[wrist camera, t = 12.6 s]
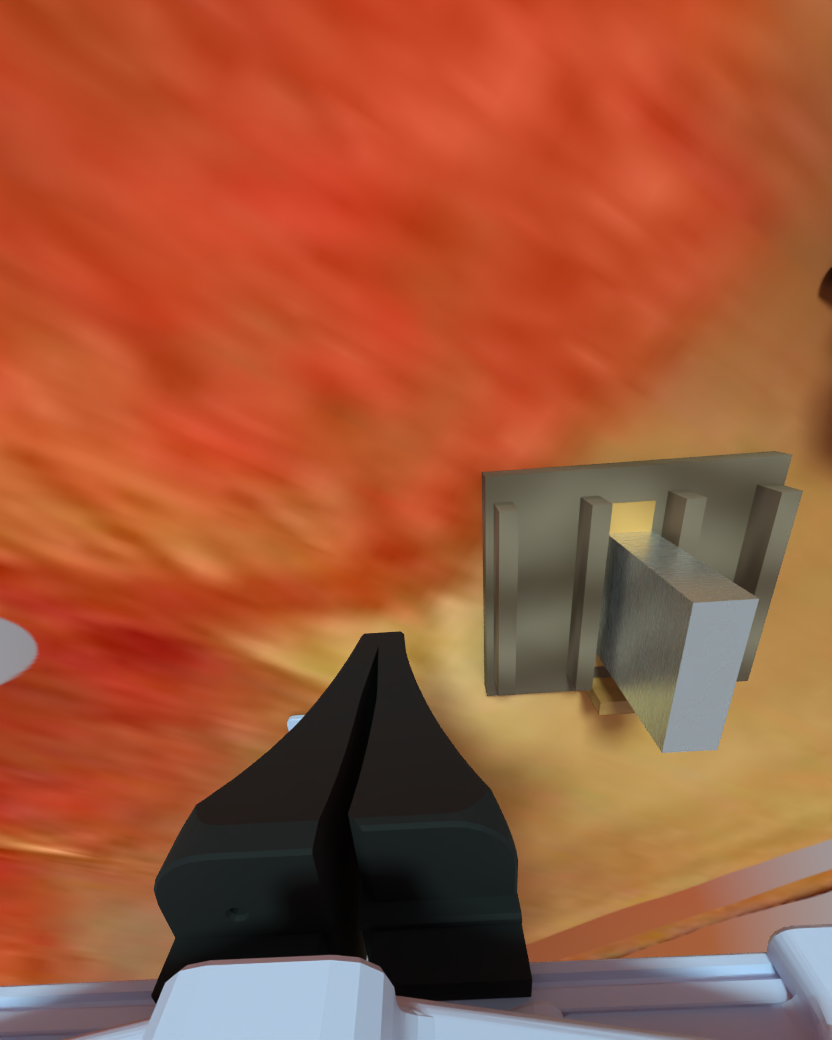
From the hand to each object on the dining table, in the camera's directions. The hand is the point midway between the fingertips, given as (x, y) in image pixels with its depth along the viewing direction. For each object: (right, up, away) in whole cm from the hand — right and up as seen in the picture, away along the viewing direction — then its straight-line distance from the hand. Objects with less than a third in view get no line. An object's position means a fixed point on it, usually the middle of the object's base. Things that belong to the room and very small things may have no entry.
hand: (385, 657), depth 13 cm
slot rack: (+13, +1, +11) cm, 17 cm away
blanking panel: (+13, 0, +10) cm, 17 cm away
